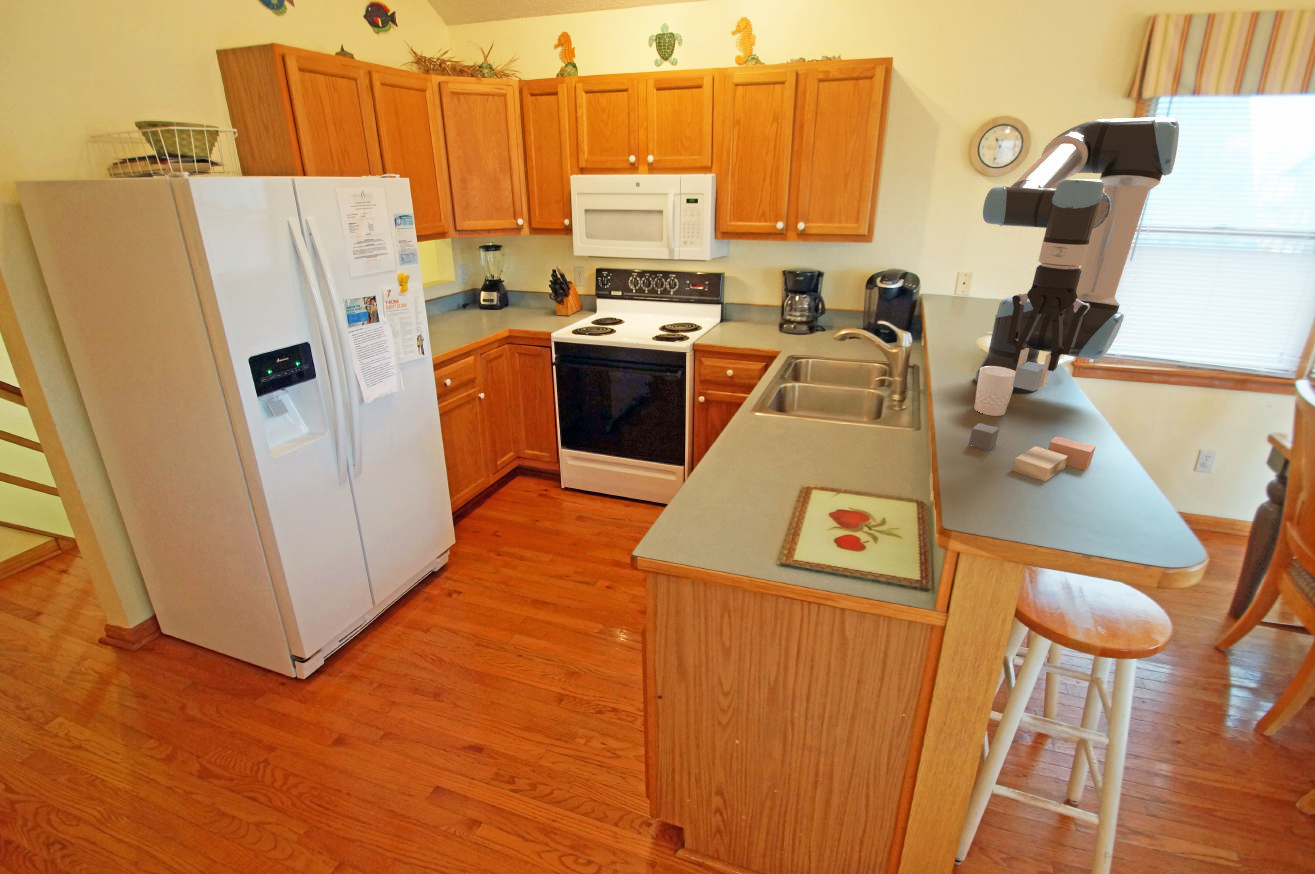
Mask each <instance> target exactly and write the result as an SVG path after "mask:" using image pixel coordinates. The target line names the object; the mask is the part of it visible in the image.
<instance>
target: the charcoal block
mask: <svg viewBox="0 0 1315 874" xmlns="http://www.w3.org/2000/svg"><path fill="white" fill-rule="evenodd" d="M999 431H1000V427H996V426H992V425H988V424H986V423H980V422H978V423H977V424H976V425H975V426H973V427H972V428H971V433H970V437H969V443H968V446H969V445H972V446H971V447H973V446H975V447H974V448H976V447H978V448H977V449H980V448H981V449H980V450H983V449H984V451H986V452H989V451H991V450H992V449H993V448H994V447H995V446H996V443H997V439H998V436H999Z"/></svg>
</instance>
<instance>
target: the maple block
mask: <svg viewBox="0 0 1315 874" xmlns="http://www.w3.org/2000/svg"><path fill="white" fill-rule="evenodd" d="M1067 458H1068V456H1067V455H1063V454H1060V453H1057V452H1054V451H1050V450H1048V449H1047V448H1043V447H1041V446H1036V445H1035V446H1033V447H1031V448H1030V449H1028V450H1026V451H1025V452H1023V453H1021V454H1020V455H1018V456H1016V457H1015V459H1014V462H1013V463H1014V464H1013V465H1012V472H1015V473H1019V474H1022V475H1025V476H1028V477H1031V478H1034V479H1037V480H1040V481H1042V482H1047V481H1048V480H1050V479H1052V478H1053V477H1054V476H1056V475H1057V474H1059V473H1060V472H1061V471H1063V470H1064V469H1066V466H1067V465H1066V462H1067Z"/></svg>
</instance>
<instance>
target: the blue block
mask: <svg viewBox="0 0 1315 874" xmlns="http://www.w3.org/2000/svg"><path fill="white" fill-rule="evenodd" d="M1043 366H1044V363H1039V362H1038V363H1034V362H1029V361H1028V362H1027V363H1025V364H1023V365H1021V366H1019V367H1017V371H1016V375H1015V379H1014V383H1013V387H1017V388H1022V389H1026V390H1031V391H1034V392H1036V391H1037V390H1038V389H1039V388H1041V387H1040V386H1039V382H1040V378H1041V374H1042V371H1043ZM1036 389H1037V390H1036ZM1035 390H1036V391H1035Z"/></svg>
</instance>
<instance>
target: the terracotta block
mask: <svg viewBox="0 0 1315 874" xmlns="http://www.w3.org/2000/svg"><path fill="white" fill-rule="evenodd" d="M1047 450H1050V451H1054V452H1057V453H1060V454H1063V455H1067V456H1068V458H1067V462H1066V465H1065V466H1067V467H1073V468H1076V469H1079V470H1083V471H1086V470H1087V469H1088V467H1089V466H1090V465H1091V463H1092V460H1093V457H1094V453H1095V451H1096V445H1092V444H1089V443H1086V442H1085V443H1084V442H1081V441H1077V440H1073V439H1068V438H1065V437H1062V436H1055V437H1053V439H1051V441H1050V442H1049V446H1048V449H1047Z"/></svg>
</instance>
